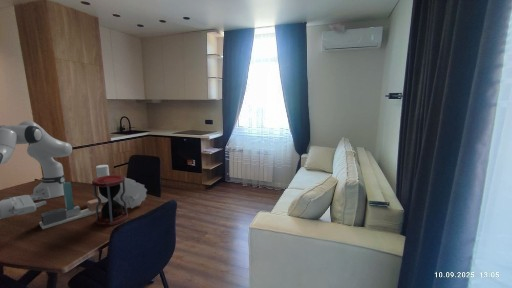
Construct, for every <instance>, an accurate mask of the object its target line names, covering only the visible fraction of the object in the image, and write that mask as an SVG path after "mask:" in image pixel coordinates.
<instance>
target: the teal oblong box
mask: <svg viewBox="0 0 512 288" xmlns="http://www.w3.org/2000/svg"><path fill="white" fill-rule="evenodd" d="M63 190H64V195H63V197H64V204H65V208H64V209H65V210H66V216H67V217H69V216H72V215H76V214H79V213H81V207H80V206H79V205H76V206H74V198H73V189H72V183H71V181H65V183H63Z"/></svg>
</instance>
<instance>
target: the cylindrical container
mask: <svg viewBox="0 0 512 288" xmlns="http://www.w3.org/2000/svg"><path fill="white" fill-rule="evenodd" d="M95 171H96V178H99V177H102V176H108V175H110V169H109V165H108V164H99V165H96V167H95ZM97 191H98V192H97V193H98V197H99V198H100V199H101V203H102V204H103V203H104V204H105V202H107V201H108V199H107V198H105V197H103V196H102V195H101V194H100V193H99V187H98V186H97Z"/></svg>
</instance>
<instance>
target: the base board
mask: <svg viewBox="0 0 512 288" xmlns="http://www.w3.org/2000/svg"><path fill="white" fill-rule="evenodd" d="M80 211H81V213H79V214H76V215H72V216H69V217H67V219H66V220H62V221H59V222H55V223H52V224H49V225H45V226H44V225H43V223H42V221H40V222H39V226H40V228H41V229H42V230H45V229H49V228H51V227H52V228H53V227H54V226H55V227H56V226H59V225H61V224H65V223H68V222H71V221H76V220H78V219H81V218H85V217H89V216H92V215H95V214H96V211H93V212H91V211H89V210H88V208H86V209H83V210H81V209H80ZM98 213H101V209H100V210H98Z"/></svg>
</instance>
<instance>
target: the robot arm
mask: <svg viewBox="0 0 512 288" xmlns="http://www.w3.org/2000/svg"><path fill="white" fill-rule="evenodd" d="M23 144H29V145H28V146H27V148H26V152H27V154H28V156H29V157H30V158H33V159H34V160H36V161H37V162H38V163H39V165H40V167H41V169H42V173H43V177H41V178H40V179H39V180H40V181H41V182H40V183H38V185H36V186H35V187H34V188H33V193H31V194H23V195H19V196H18V195H16V196H8V197H4V198H3V199H2V200H0V220H1V219H6V218H11V217H13V216H21V215H25V214H31V213H35V212H36V211H37V208H39V207H42V206H45V205H47V201H46V200H49V199H52V198H57V197H59V198H60V197H61V196H64V190H63V183H65V182H66V175H65V173H64V167H63V164H62V163H61V162H59V161H57V160H55V159H54V158H64V157H68V156H70V155H71V154H72V153H73V147H72V145H71V144H70V143H69V142H66V141H62V140H60V139H57V138H54V137H53V136H51V135H50V134H49V133H47V131H46V130H45V129H44V128H42V126H40V125H39V124H38V123H36V122H35V121H32V120H26V121H25V120H24V121H22V122H20V123H18V124H14V125H13V124H12V125H5V124H4V125H3V124H2V125H0V166H2V165H3V164H5V163H8V162H9V161H10V160H11V158H12V156H13V154H14V152H15V149H16V145H23ZM34 201H39V202H34Z"/></svg>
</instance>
